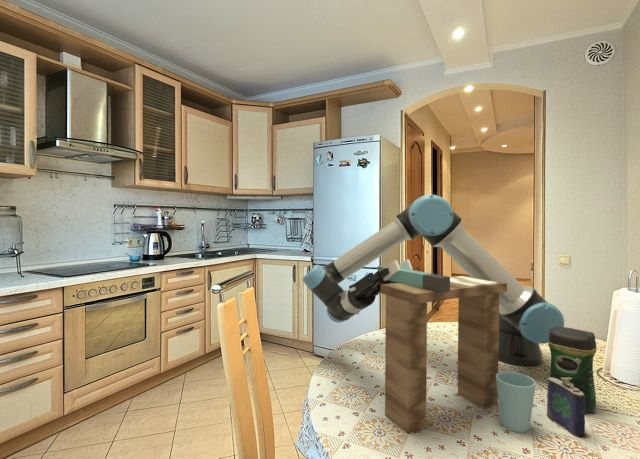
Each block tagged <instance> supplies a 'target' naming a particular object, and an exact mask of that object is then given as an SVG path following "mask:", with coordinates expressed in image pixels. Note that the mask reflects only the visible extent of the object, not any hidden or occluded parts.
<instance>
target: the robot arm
mask: <svg viewBox="0 0 640 459" xmlns="http://www.w3.org/2000/svg"><path fill="white" fill-rule="evenodd" d="M419 236H421V237H423V238H424V239H425V240H426V242H428V243H429V245H431V246H432V247H433V248H441V250H443V251H444V252H445V253H446V254H447V255H448V256H449V257H450V258H451V259H452V260H453V261H454V262H455V263H456V264H457V265H458V266H459V267H460V268H461V270H463V271H464V272H465V273H466V274H467V275H468V277H473V278H479V279H485V280H490V281H496V282H502V283H507V292H501V293H499V359H498V361H500V362H503V363H506V364H510V365H515V366H525V367H528V366H529V367H530V366H531V367H532V366H533V367H534V366H537V365H541V364H542V363H543V353H542V350H541V346H540V344H548V339H549V333H550V330H551V329H552V328H553V327H555V326H560V327H565V317H564V315H563V313H562V312H561V310H560V309H559V308H558V307H557V306H556V305H554V304H552V303H550V302H548V301H547V300H546V299H544V297H543V296H541V295H540V294H539V292H538V291H537V289H536V288H533V287H532V286H531V285H522V284H521V283H520V282H519V281H518V280H517V279H516V278H515V277H514V276H513V275H512V274H511V273H510V272H509V271H508V270H507V269H506V268H505V267H504V266H503V265H502V264H501V263H500V262H499V261H498V260H497V259H496V258H494V257H493V255H492V254H490V252H488V251H487V250H486V249H485V248H484V247H483V246H482V245H481V243H479V242H478V240H476V239H475V238H474V237H473V236H472V234H470V233H469V232H468V231H467V230H466V229H465V228H464V225H463V219H462V217H461V216H459V215H458V214H457V213H456V212H455V211H454V210H453V208H452V205H451V204H450V203H449V202H448V201H447V200H446V198H444V197H442V196H440V195H436V194H425V195H422V196H420V197H418V198H417V199H415V200H413V201H412V202H411V203H410V204H409V205H408V206H407V207H406V208H404V210H402V211H401V212H400V213H399V214H397V215H395V217H394V218H393V221H392V222H390V223H389V224H388V225H386V226H384V227H383V228H381V229H379V230H378V231H377V232H375V233H374V234H372V235H371V236H369V237H368V238H366V239H364V240H362V241H361V242H360V243H359V244H357V245H355V246H354V247H352V248H351V249H349V250H348V251H347V252H345V253H344V254H342V255H340V256H338V257H337V258H336V259H334V260H333V261H331V262H329V263H328V264H326V265H325V266H321V265H320V264H316V265H314V266H313V267H312V268H311V269H310V270H309V271H308V272H307V273H306V274H305V275H304V276H303V277H302V282H303V283H304V285H305V286H306V287H307V289H308V290H310V291H311V292H312V293H313V294H314V295H315V296H316V297H317V298H318V299H319V300H320V301H321V302H322V303H323V304H324V306H326V313H327V316H328V318H329V319H330V320H331V322H335V323H338V324H339V323H343V322H346V321H349V320H350V319H351V318H352V317H354V316H355V315H359V314H360V312H361V311H363V310H364V309H366V308H368V307H370V306H371V305H373V303H374V302H375V300H376V297H377V296H378V295H379V294H381V284H392V283H398V282H394V281H390V280H387V279H389V278H390V277H392V276H393V275H395V274H396V273H397V272H399V271H400V268H403V269H409V270H414V269H413V267H412V263H411V261H410V259H409V258H408V259H405V260H404V261H402V262H401V263H399V261H398V260H397V259H394V260H392V262H390V263H389V264H388V265H385V266H386V267H385V268H384V269H382V270H381V271H376V272H375V273H373V272H369V273H368V274H366V275H364V276H363V277H362V278H360V279H359V280H357V281H356V282H355V283H353V284H351V285H348V288H346V290H344V289H343V287H341V285H340V283H341V282H343V281H344V280H345V279H347V278H349V277H350V276H351V275H352V276H353V274H355V273H357V272H359V271H360V270H362V269H363V268H365V267H367V265H370V264H371V263H372V262H374V261H375V260H377V259H379V258H380V257H382V256H384V255H385V254H386V253H388V252H389V251H391V250H392V249H394V248H396V247H397V246H399V245H401V244H402V243H404V242H405V241H407V240H408V241H412V240H414V239H416V238H417V237H419Z"/></svg>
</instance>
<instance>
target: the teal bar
mask: <svg viewBox="0 0 640 459" xmlns="http://www.w3.org/2000/svg"><path fill="white" fill-rule="evenodd" d="M386 266H387V265H378V266H377V271H381V270H382V269H384V268H385V267H386ZM377 271H376V272H377ZM450 277H451V276H448V275H447V276H446V275H443V274H441V275H440V274H435V273H430V272H425V271H424V272H423V271H420V270H414V269H413V270H409V269H403V268H400V271H399V272H397V273H396V274H395V275H393V276H392V277H390V278H389V279H387V280H390V281H394V282H398V283H402V284H407V285H411V286H415V287H419V288H423V289H428V290H432V291H436V292H446V291H450Z"/></svg>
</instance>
